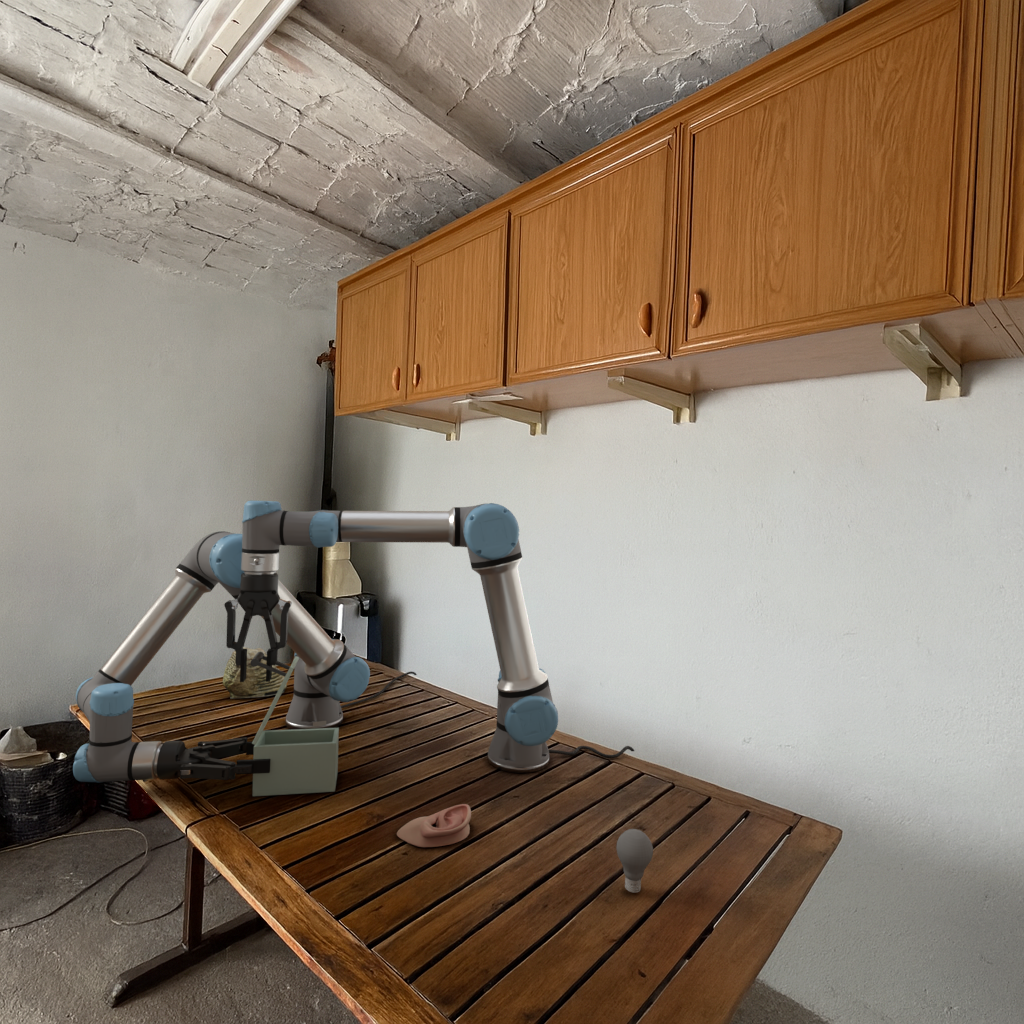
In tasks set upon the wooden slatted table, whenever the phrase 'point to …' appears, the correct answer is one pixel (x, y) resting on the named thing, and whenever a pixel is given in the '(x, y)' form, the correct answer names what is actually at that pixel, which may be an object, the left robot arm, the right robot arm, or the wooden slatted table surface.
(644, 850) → the light bulb
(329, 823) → the wooden slatted table surface
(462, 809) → the anatomical model
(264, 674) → the fossil
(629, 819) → the wooden slatted table surface
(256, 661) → the lid
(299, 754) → the chest
